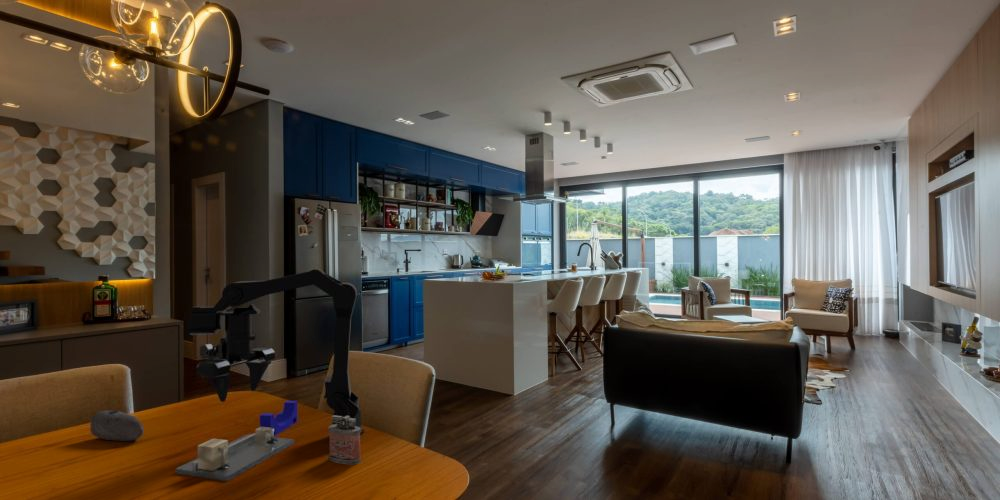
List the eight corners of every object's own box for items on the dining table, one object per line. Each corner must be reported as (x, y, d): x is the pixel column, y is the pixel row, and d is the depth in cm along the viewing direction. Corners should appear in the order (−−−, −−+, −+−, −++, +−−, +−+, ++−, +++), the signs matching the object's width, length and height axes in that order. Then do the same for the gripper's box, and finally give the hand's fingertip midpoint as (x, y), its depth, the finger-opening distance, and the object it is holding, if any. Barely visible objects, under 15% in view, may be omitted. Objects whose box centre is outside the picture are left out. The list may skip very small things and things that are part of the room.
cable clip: (282, 421, 133) (282, 400, 133) (297, 422, 132) (297, 401, 132) (254, 438, 121) (254, 415, 121) (270, 439, 120) (270, 415, 120)
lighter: (364, 459, 107) (363, 415, 107) (355, 465, 104) (354, 420, 104) (335, 454, 110) (334, 412, 110) (325, 460, 107) (325, 417, 107)
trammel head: (231, 463, 103) (231, 440, 103) (216, 471, 100) (216, 448, 100) (213, 460, 105) (213, 438, 105) (197, 468, 101) (197, 445, 101)
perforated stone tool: (151, 438, 121) (151, 411, 121) (130, 446, 116) (130, 418, 116) (109, 433, 125) (109, 407, 125) (87, 440, 120) (87, 413, 120)
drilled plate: (293, 443, 117) (293, 427, 117) (227, 481, 98) (227, 461, 98) (248, 438, 121) (248, 422, 121) (175, 473, 101) (175, 454, 101)
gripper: (242, 325, 127) (242, 383, 126) (177, 338, 109) (178, 405, 109) (276, 327, 124) (276, 386, 123) (215, 340, 106) (216, 409, 105)
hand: (238, 395), depth 115 cm, fingers open, 9 cm apart
